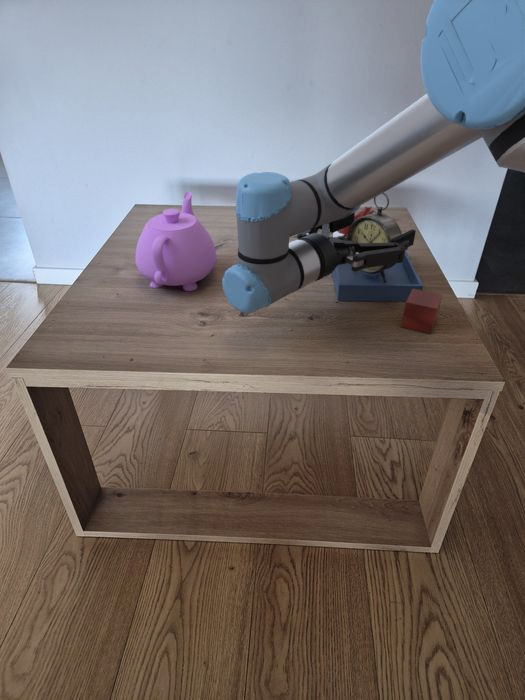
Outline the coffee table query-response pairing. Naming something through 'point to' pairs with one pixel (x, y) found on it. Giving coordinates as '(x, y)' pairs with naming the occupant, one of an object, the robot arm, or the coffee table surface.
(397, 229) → the alarm clock
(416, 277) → the blue tray
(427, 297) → the red block
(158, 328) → the coffee table surface
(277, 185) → the robot arm
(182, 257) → the teapot
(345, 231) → the figurine
